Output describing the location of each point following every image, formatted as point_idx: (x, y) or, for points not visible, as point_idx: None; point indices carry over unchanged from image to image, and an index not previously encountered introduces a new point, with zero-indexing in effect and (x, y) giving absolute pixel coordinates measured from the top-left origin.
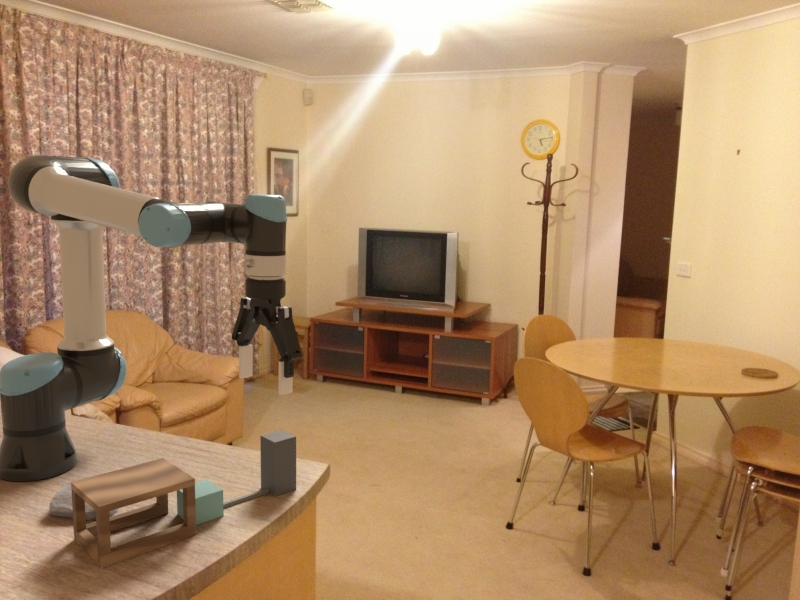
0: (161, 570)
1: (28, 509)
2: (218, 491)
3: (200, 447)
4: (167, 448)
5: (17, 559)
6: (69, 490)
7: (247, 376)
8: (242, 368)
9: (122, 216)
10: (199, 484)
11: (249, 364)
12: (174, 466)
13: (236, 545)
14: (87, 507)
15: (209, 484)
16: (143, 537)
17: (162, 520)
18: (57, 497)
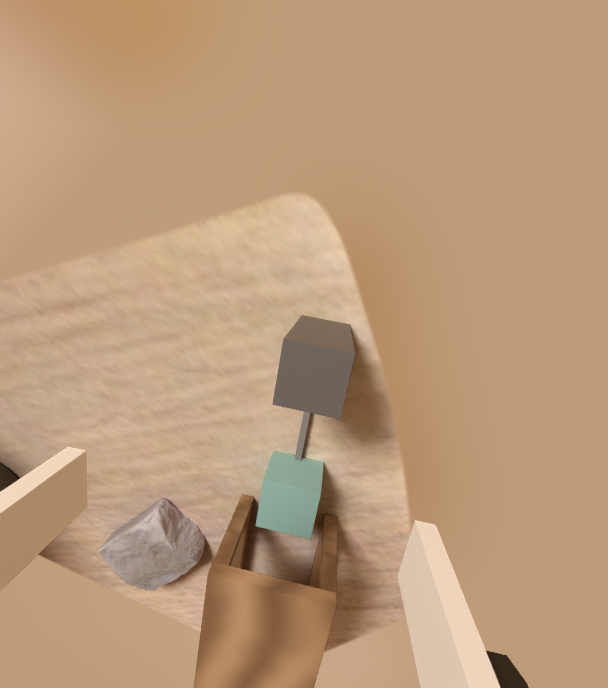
0: (373, 587)
1: None
2: (319, 499)
3: (57, 297)
4: (25, 340)
5: None
6: (124, 566)
7: (83, 480)
8: (41, 543)
9: None
10: (271, 498)
11: (22, 519)
12: (260, 588)
13: (407, 509)
14: (181, 569)
15: (284, 490)
16: (312, 584)
17: None
18: (134, 583)
